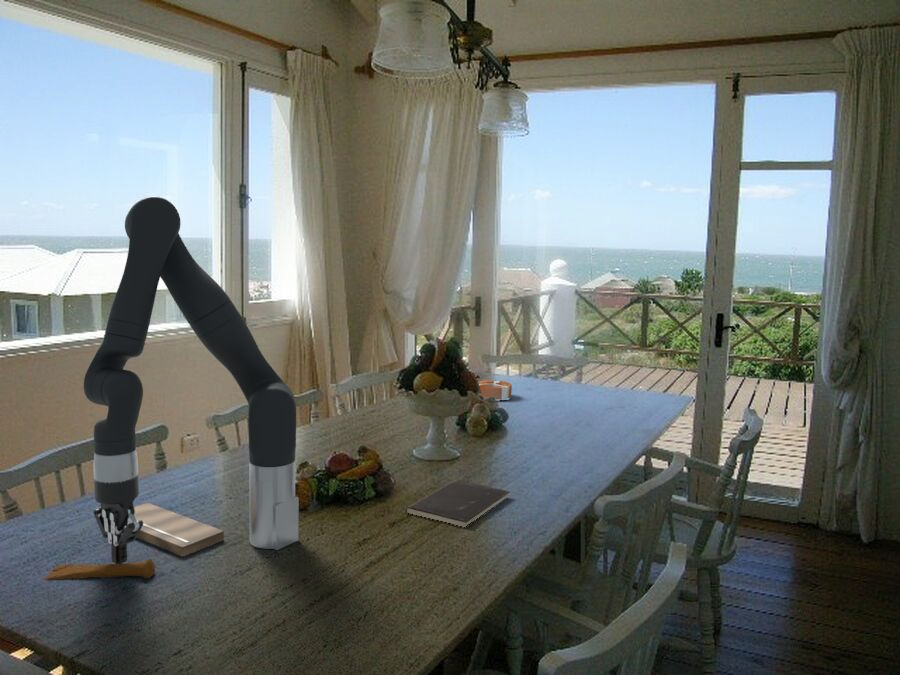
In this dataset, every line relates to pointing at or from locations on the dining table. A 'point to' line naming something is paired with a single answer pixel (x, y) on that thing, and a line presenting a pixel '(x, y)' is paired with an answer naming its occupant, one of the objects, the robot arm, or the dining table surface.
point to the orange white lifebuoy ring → (495, 389)
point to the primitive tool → (103, 570)
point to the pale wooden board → (174, 530)
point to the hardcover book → (458, 502)
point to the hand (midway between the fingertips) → (119, 561)
